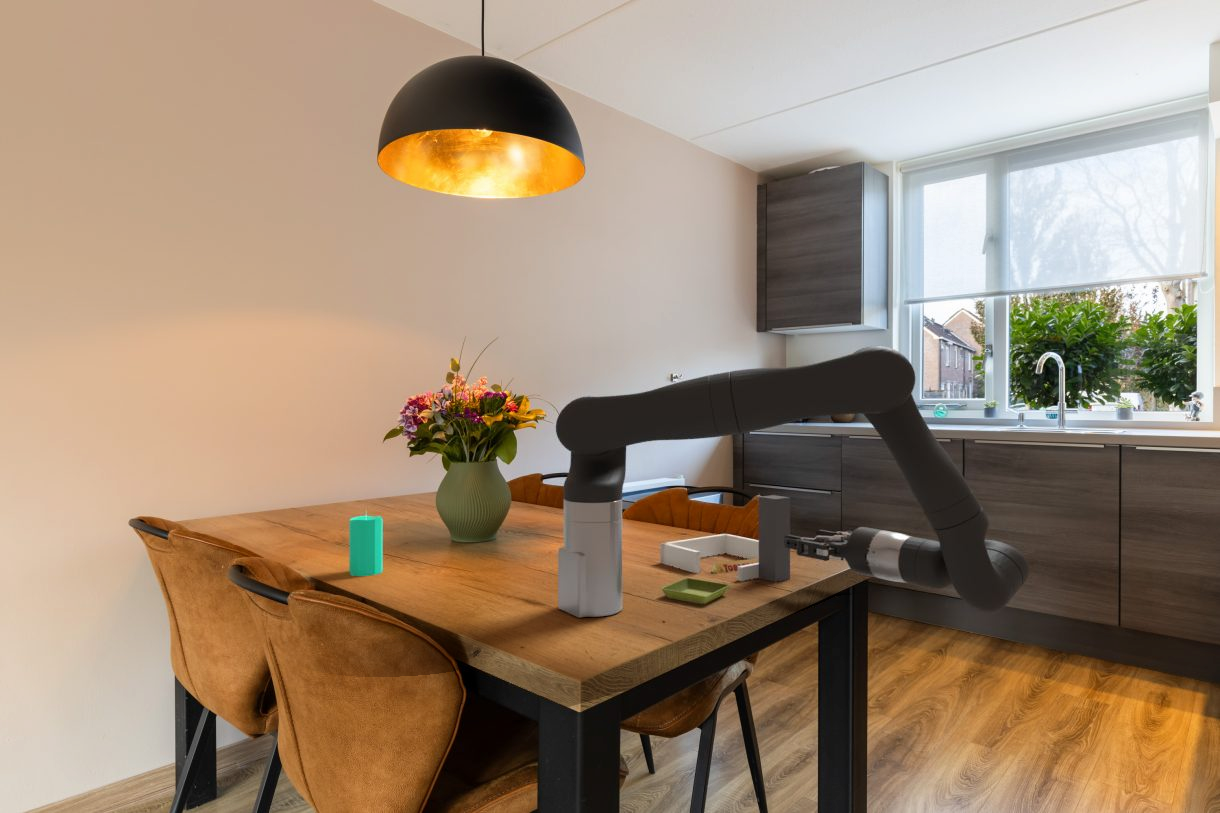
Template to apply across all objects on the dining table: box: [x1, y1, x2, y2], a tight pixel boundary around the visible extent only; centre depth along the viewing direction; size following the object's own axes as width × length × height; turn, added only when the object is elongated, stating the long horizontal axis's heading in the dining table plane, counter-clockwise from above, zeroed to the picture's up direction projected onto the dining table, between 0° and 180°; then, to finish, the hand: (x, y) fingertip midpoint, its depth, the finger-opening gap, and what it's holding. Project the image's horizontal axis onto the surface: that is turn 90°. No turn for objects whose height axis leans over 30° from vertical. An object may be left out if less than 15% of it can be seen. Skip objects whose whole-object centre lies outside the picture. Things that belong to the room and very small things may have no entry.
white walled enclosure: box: [660, 533, 759, 574], centre depth 141 cm, size 18×10×4 cm, turn 125°
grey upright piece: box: [737, 494, 791, 583], centre depth 128 cm, size 13×5×15 cm, turn 125°
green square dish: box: [660, 577, 730, 605], centre depth 115 cm, size 9×9×2 cm
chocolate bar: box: [711, 558, 759, 575], centre depth 134 cm, size 3×12×2 cm, turn 115°
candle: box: [348, 509, 384, 577], centre depth 132 cm, size 6×6×12 cm
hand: (801, 538), depth 122 cm, fingers open, 8 cm apart
